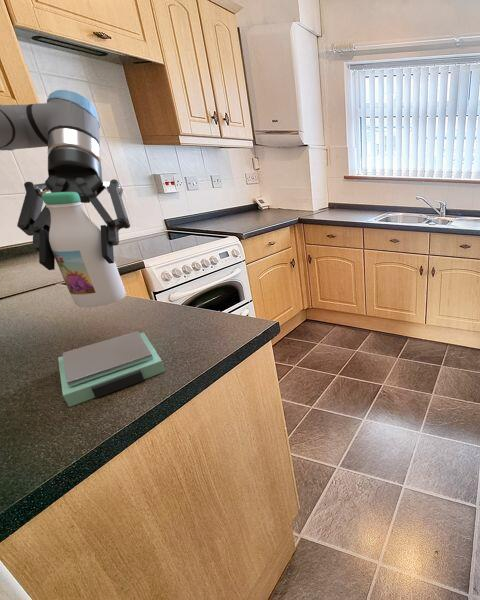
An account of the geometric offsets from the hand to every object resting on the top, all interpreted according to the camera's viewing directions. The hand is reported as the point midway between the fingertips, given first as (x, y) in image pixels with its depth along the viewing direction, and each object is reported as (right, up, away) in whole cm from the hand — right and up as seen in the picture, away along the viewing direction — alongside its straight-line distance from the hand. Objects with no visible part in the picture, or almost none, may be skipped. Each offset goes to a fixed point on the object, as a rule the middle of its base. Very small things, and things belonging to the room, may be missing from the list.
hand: (78, 262), depth 59 cm
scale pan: (0, -18, +6) cm, 19 cm away
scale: (0, -20, +7) cm, 22 cm away
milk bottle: (-1, -7, +6) cm, 9 cm away
